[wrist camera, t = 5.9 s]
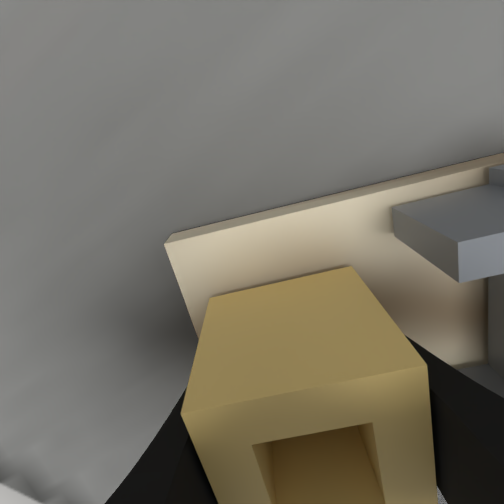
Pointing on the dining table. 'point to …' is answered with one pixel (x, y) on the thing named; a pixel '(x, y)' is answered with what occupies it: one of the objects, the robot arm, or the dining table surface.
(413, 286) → the base plate
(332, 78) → the dining table surface
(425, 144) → the dining table surface
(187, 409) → the block
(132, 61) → the dining table surface
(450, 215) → the housing
